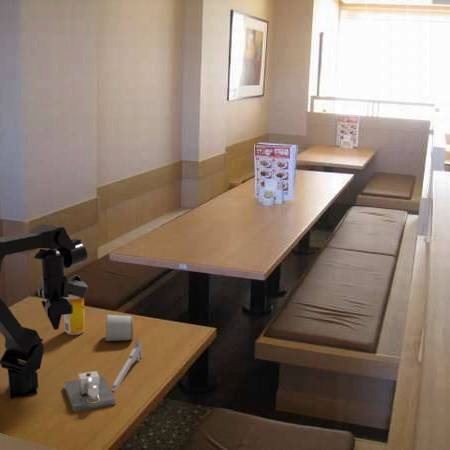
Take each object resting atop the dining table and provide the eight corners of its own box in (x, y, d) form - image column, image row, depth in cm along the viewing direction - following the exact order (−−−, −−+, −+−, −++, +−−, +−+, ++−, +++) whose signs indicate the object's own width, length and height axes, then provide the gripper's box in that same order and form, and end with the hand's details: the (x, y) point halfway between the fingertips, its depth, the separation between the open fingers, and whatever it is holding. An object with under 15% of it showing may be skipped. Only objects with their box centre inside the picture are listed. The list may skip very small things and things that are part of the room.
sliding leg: (81, 394, 156) (81, 378, 155) (79, 388, 158) (78, 373, 157) (99, 390, 157) (99, 375, 156) (97, 385, 160) (96, 370, 159)
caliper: (138, 358, 181) (138, 337, 179) (142, 358, 180) (141, 337, 179) (110, 392, 161) (109, 369, 160) (114, 392, 161) (114, 369, 160)
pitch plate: (73, 412, 151) (72, 393, 150) (64, 387, 163) (63, 369, 161) (115, 404, 155) (115, 385, 154) (103, 380, 166) (102, 363, 165)
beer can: (89, 330, 198) (87, 284, 195) (74, 337, 193) (72, 290, 190) (75, 326, 201) (73, 281, 198) (60, 332, 196) (58, 286, 193)
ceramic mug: (134, 343, 189) (133, 319, 188) (105, 345, 188) (105, 320, 187) (133, 330, 200) (133, 307, 198) (106, 331, 198) (106, 308, 197)
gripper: (92, 279, 160) (94, 338, 164) (78, 259, 177) (80, 312, 180) (46, 284, 156) (49, 344, 159) (36, 263, 172) (39, 318, 176)
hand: (56, 329), depth 169 cm, fingers closed
